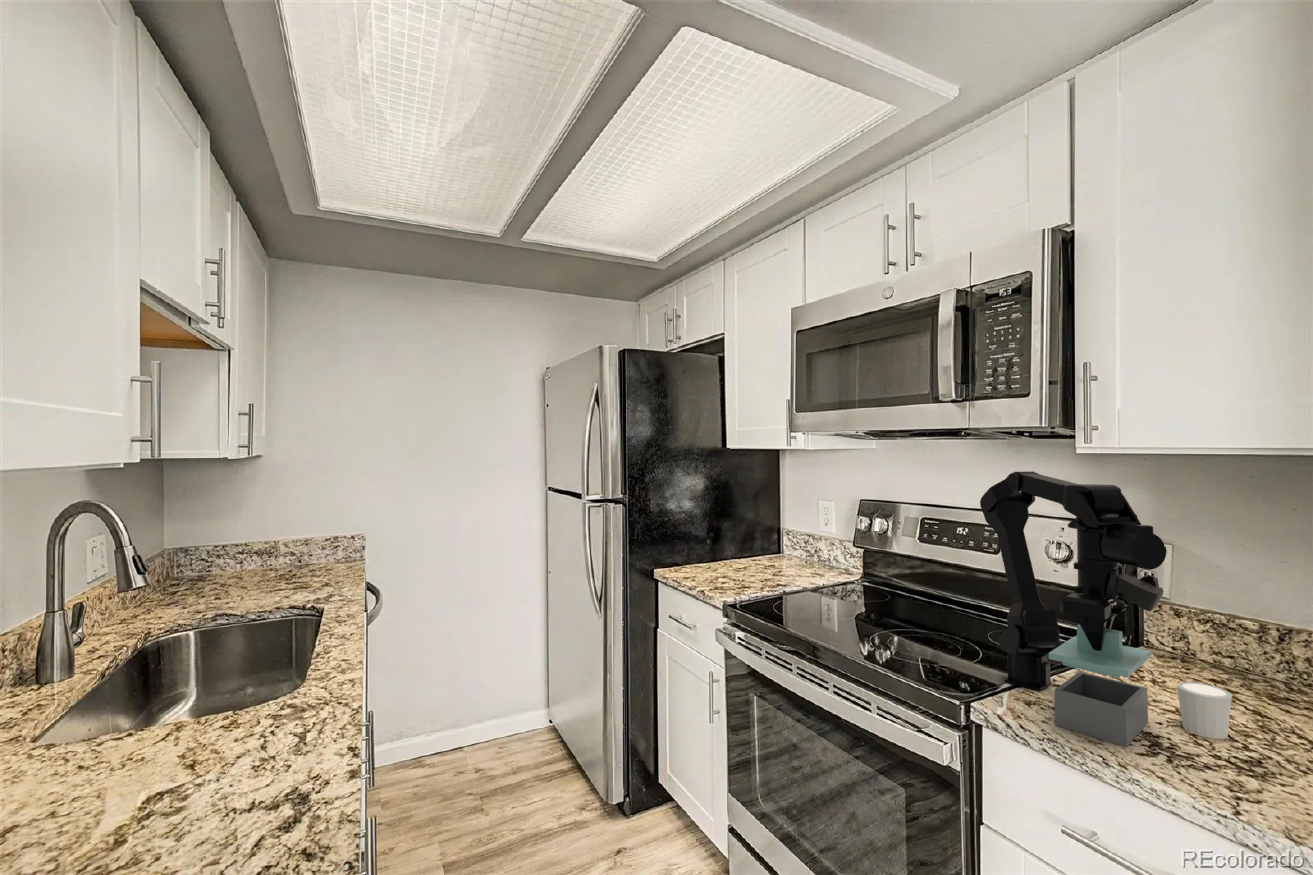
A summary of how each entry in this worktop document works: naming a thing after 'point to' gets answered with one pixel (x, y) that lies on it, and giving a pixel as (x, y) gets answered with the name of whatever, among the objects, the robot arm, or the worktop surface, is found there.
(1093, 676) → the tub
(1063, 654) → the lid
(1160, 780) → the worktop surface
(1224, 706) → the white cup
